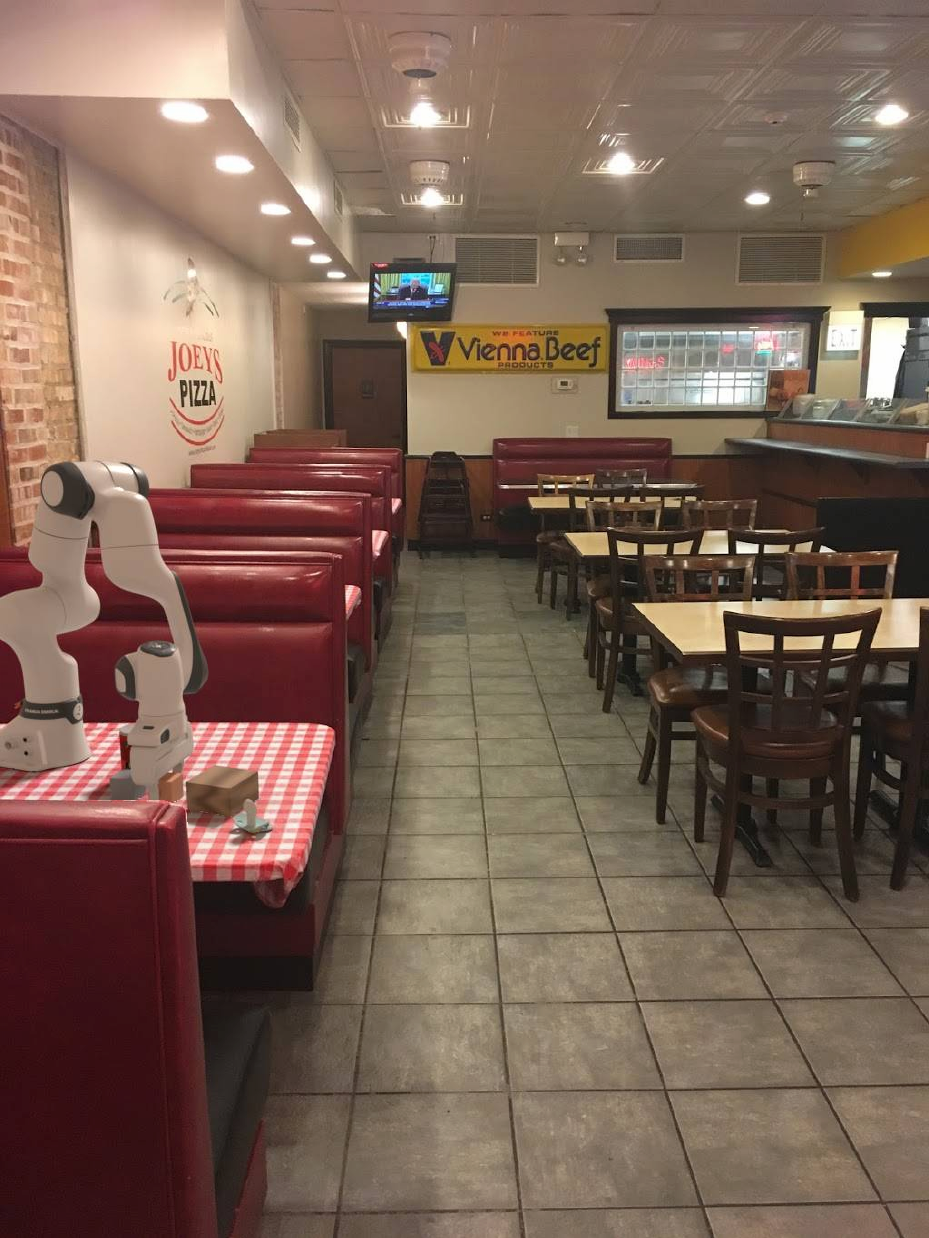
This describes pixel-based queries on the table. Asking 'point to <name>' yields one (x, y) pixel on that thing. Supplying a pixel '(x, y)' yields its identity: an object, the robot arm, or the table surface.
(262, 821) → the pacifier
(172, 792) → the terracotta cube
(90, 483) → the robot arm
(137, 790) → the gray metal cube
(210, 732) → the table surface
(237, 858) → the table surface
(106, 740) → the table surface
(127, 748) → the canned food
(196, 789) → the walnut block
